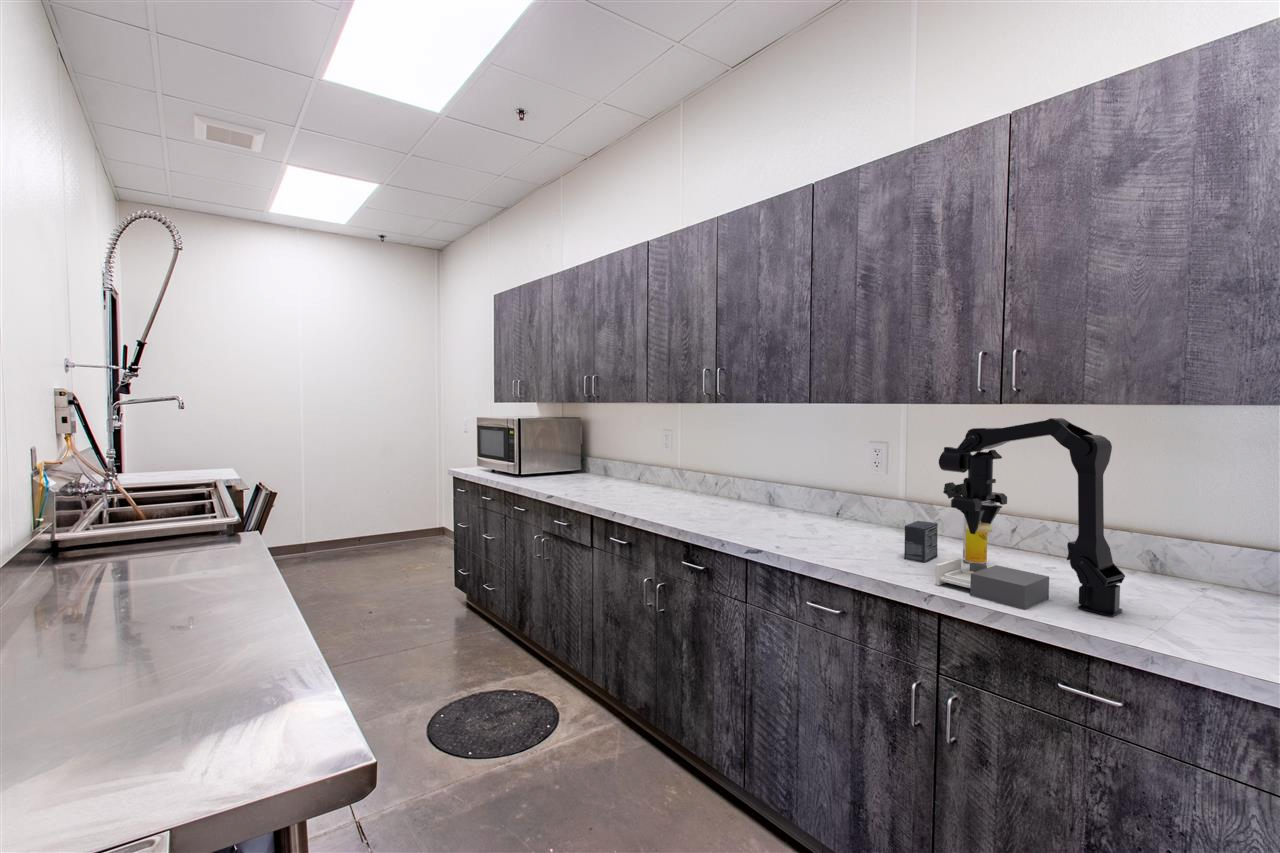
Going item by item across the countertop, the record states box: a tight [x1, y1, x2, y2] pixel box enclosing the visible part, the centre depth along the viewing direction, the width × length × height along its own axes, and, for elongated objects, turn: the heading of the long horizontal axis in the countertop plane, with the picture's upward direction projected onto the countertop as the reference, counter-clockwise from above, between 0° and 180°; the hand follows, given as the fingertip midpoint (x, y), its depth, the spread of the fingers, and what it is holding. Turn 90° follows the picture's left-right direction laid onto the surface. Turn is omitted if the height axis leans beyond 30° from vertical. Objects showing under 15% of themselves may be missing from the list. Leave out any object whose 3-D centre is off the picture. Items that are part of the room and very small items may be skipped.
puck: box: [969, 563, 988, 572], centre depth 157 cm, size 4×4×4 cm
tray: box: [935, 558, 974, 589], centre depth 150 cm, size 12×11×5 cm
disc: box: [966, 522, 993, 533], centre depth 157 cm, size 6×6×2 cm
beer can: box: [962, 515, 988, 565], centre depth 172 cm, size 6×6×15 cm
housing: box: [969, 564, 1050, 610], centre depth 142 cm, size 12×13×5 cm
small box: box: [903, 520, 939, 564], centre depth 178 cm, size 11×6×10 cm, turn 134°
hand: (978, 532), depth 157 cm, fingers closed on disc, 6 cm apart
